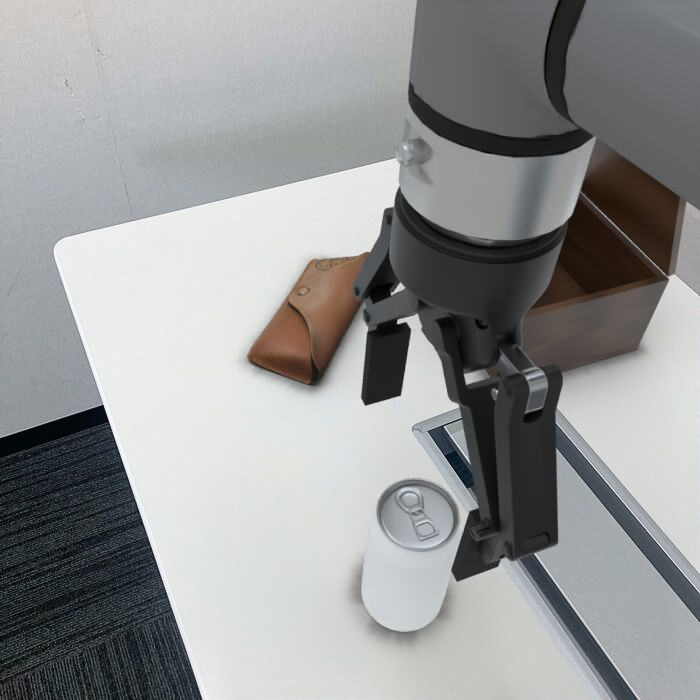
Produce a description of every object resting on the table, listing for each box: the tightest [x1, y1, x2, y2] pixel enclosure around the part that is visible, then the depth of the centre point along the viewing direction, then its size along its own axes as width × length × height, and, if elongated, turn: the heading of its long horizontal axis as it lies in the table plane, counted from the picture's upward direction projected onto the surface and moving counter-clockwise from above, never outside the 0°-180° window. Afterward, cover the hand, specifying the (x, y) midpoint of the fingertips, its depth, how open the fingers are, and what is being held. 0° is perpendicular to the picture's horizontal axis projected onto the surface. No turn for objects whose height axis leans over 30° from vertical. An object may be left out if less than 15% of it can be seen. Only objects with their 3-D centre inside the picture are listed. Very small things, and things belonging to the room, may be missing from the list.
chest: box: [484, 191, 670, 378], centre depth 78 cm, size 17×17×10 cm
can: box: [360, 477, 463, 633], centre depth 55 cm, size 6×6×12 cm
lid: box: [580, 138, 688, 278], centre depth 70 cm, size 18×17×10 cm
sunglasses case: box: [246, 251, 371, 385], centre depth 79 cm, size 18×7×7 cm
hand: (423, 475), depth 48 cm, fingers open, 13 cm apart
